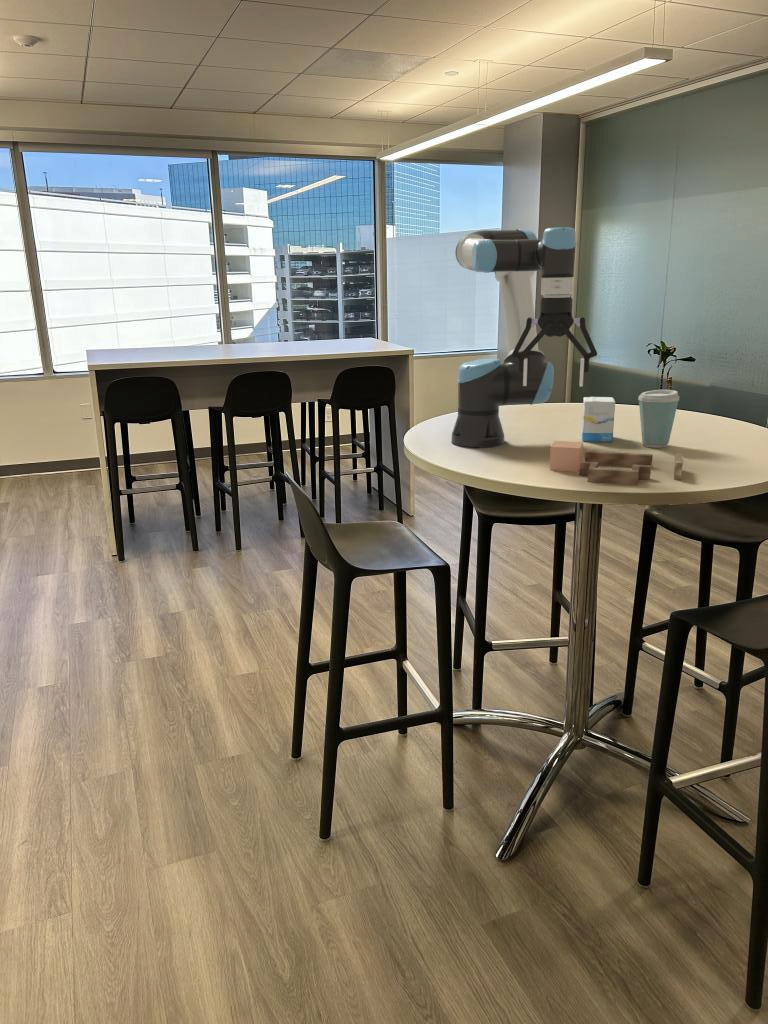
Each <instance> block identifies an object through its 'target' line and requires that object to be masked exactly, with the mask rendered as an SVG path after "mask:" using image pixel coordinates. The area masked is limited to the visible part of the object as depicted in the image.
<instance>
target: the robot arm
mask: <svg viewBox="0 0 768 1024" xmlns="http://www.w3.org/2000/svg"><path fill="white" fill-rule="evenodd" d="M576 233H577V232H576V229H575V228H573V227H566V226H565V227H564V226H563V227H547V228H545V230H544V231H543V235H542V238H538V237H537V235H536V233H534V231H532V230H530V229H521V228H516V229H498V230H497V229H496V230H493V229H492V230H489V229H488V230H487V229H486V230H478V231H473V232H471V233H468V234H466V235H464V236H463V237H461V238H460V240H458V242H457V245H456V246H455V259H456V261H457V263H458V264H459V265H460V267H462V268H464V269H466V270H469V271H474V272H476V273H486V274H487V273H494V278H495V280H496V281H497V282H499V284H500V287H501V296H502V305H503V313H504V314H503V315H504V316H503V318H504V325H505V334H506V345H507V355H506V357H504V359H503V363H502V362H501V360H500V359H499V358H495V357H492V358H480V359H475V360H470V361H466V362H464V363H462V364H460V366H459V367H458V373H457V381H456V382H457V417H456V420H455V423H454V426H453V430H452V432H451V443H452V444H453V445H456V446H461V447H466V448H467V447H468V448H490V447H496V446H500V445H501V446H502V444H504V443H505V432H504V428H503V425H502V422H501V419H500V415H499V414H500V406H509V405H510V406H514V405H518V406H519V405H530V406H532V405H533V406H534V405H536V404H538V405H539V404H544V403H546V402H547V401H548V400H549V398H550V397H551V393H552V390H553V386H554V376H555V369H554V365H553V363H552V361H551V362H550V361H546V357H545V356H546V355H545V353H544V352H543V351H542V350H540V349H539V344H538V343H539V342H540V341H541V339H543V337H544V336H546V337H551V338H552V337H563V336H566V337H567V338H568V339H569V341H570V342H571V343H572V345H573V346H574V347H575V349H576V350H577V351H578V352H579V353H580V354H581V356H582V357H583V358H580V363H579V364H580V366H579V367H580V368H579V387H581V388H582V387H583V386H584V373H588V372H589V371H590V370H589V368H590V359H591V358H594V357H597V356H598V352H597V349H596V347H595V345H594V342H593V340H592V338H591V336H590V333H589V332H588V330H587V326H586V318H585V317H584V316H580V317H576V318H575V317H573V302H574V301H573V300H574V299H573V297H571V296H572V295H574V281H575V280H574V279H575V277H574V275H575V262H576V261H575V260H576V246H577V238H576V237H577V235H576ZM535 272H541V279H540V280H541V282H540V295H541V296H542V297H541V298H540V303H539V304H540V305H539V307H540V308H539V317H538V318H535V317H536V316H535V307H534V299H533V298H534V297H533V289H532V281H531V280H532V279H531V278H532V277H534V274H535ZM536 324H538V326H539V328H540V329H541V330H540V331H539V332H538V333H537V325H536ZM573 324H575V325H576V327H578V328H579V329H580V331H581V333H582V336H583V338H584V340H585V342H586V344H587V346H588V349H589V352H588V351H587V350H586V349H585V348H584V347H583V345H582V344H581V343H580V341H579V340H578V339H577V338H576V337H575V335H574V334H573V333H572V331H571V330H570V329H571V328H572V327H573Z"/></svg>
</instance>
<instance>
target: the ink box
mask: <svg viewBox="0 0 768 1024" xmlns="http://www.w3.org/2000/svg"><path fill="white" fill-rule="evenodd" d="M615 411H616V401H615V399H614V397H611V396H610V397H609V396H584V397H583V401H582V415H581V430H580V431H581V432H580V436H581V440H582V441H581V442H593V443H595V442H597V443H598V442H600V443H601V442H602V443H613V439H614V425H615V413H616V412H615Z"/></svg>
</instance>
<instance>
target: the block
mask: <svg viewBox="0 0 768 1024" xmlns="http://www.w3.org/2000/svg"><path fill="white" fill-rule="evenodd" d="M583 450H584V441H568V440H567V441H565V440H564V441H563V440H554V441H553V443H552V444H551V445H550V451H549V471H558V472H559V471H561V472H562V471H563V472H572V473H573V472H575V473H579V471H580V462H581V461H583Z"/></svg>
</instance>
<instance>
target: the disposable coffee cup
mask: <svg viewBox="0 0 768 1024" xmlns="http://www.w3.org/2000/svg"><path fill="white" fill-rule="evenodd" d="M678 392H679V391H677V390H672V389H654V390H648V391H643V392H642V393H640V395H638V398H637V400H638V405H639V418H640V419H639V420H640V429H641V441H642V444H643V447H648V448H658V449H660V448H667V447H668V444H669V443H670V439H671V435H672V430H673V425H674V421H675V417H676V413H677V409H678V403H679V401H680V395H679V393H678Z"/></svg>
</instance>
